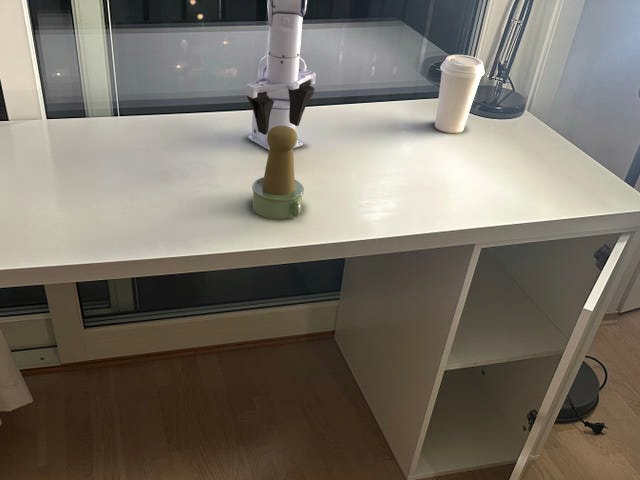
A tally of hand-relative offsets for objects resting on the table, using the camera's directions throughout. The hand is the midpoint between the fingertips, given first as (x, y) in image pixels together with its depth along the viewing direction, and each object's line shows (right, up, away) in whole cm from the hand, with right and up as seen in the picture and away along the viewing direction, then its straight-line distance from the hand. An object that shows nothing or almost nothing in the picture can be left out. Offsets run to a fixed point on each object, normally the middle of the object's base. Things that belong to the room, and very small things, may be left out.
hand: (278, 128), depth 132 cm
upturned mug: (0, -15, -2) cm, 15 cm away
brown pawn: (0, -12, -5) cm, 13 cm away
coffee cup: (+41, +10, +31) cm, 52 cm away
